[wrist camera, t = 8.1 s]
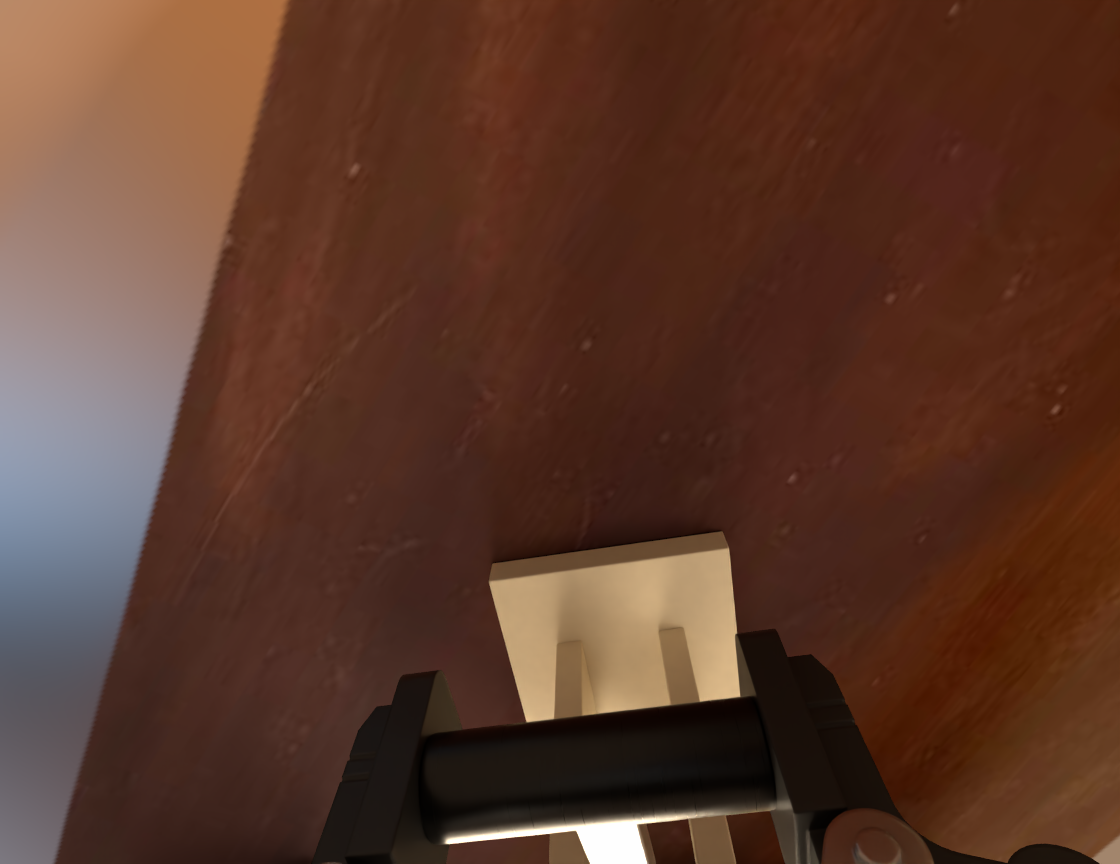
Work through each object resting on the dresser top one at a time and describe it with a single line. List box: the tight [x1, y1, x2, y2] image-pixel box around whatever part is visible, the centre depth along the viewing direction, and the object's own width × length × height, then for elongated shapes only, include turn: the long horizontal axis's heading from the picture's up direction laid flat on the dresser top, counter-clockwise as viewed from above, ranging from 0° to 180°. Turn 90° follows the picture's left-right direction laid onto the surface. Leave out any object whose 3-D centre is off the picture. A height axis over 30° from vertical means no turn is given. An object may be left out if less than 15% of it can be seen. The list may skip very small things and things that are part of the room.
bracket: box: [489, 531, 740, 864], centre depth 22 cm, size 11×9×13 cm
